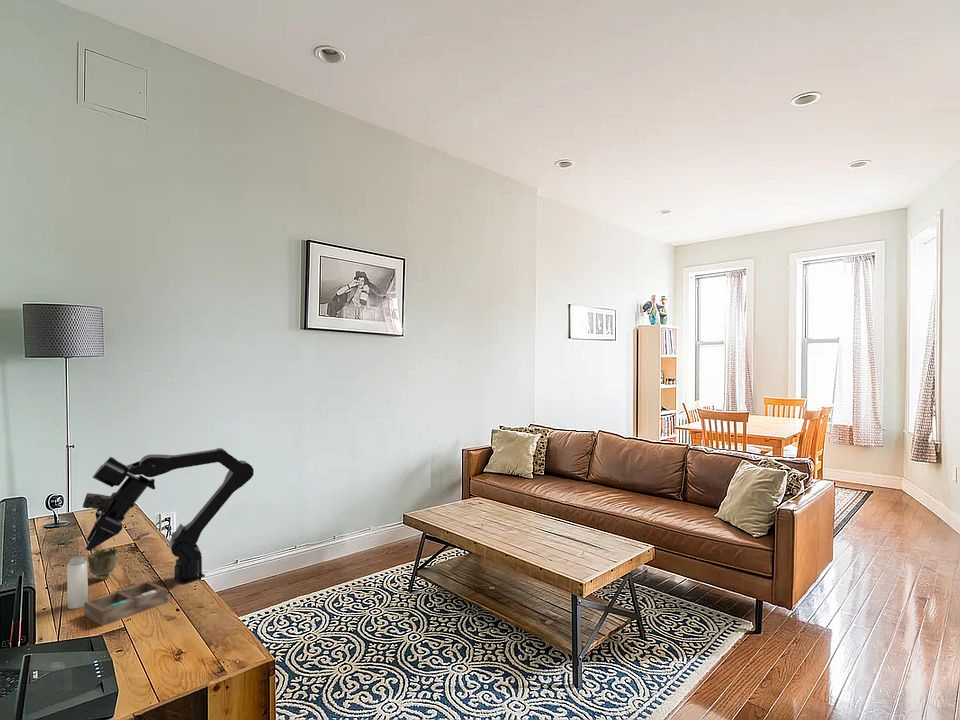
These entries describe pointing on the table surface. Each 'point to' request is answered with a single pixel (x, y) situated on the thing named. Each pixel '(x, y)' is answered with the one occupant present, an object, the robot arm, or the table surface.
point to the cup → (102, 563)
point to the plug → (77, 582)
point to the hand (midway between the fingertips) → (87, 545)
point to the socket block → (125, 603)
